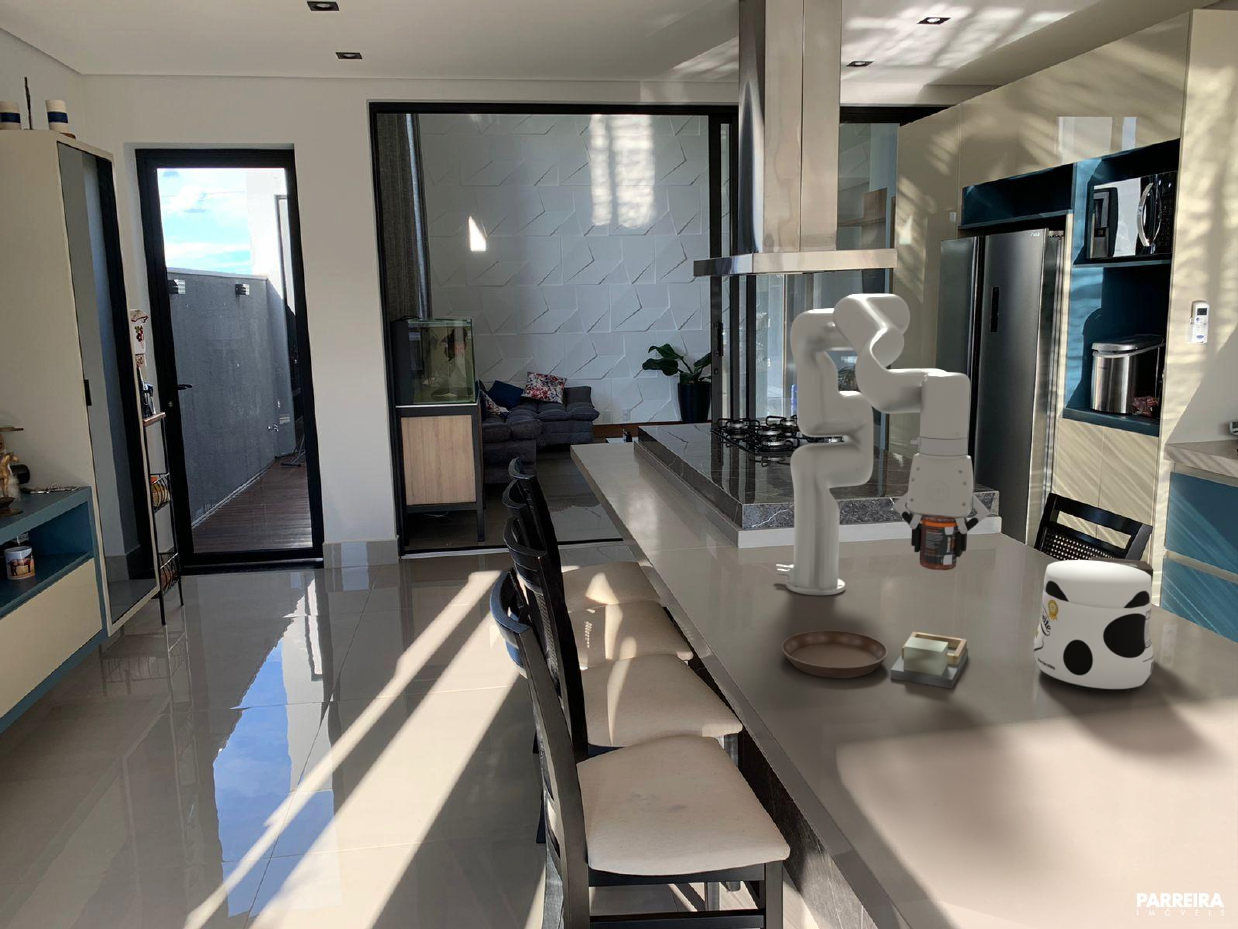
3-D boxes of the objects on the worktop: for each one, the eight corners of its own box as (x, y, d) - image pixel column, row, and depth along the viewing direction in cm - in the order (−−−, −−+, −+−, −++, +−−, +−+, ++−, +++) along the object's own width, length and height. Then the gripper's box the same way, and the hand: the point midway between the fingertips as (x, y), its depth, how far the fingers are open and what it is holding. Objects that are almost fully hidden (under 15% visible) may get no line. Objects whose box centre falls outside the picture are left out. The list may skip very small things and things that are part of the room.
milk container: (1012, 662, 161) (1018, 560, 158) (1109, 658, 162) (1116, 556, 159) (1068, 704, 144) (1076, 590, 141) (1176, 698, 145) (1186, 585, 142)
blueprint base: (890, 678, 154) (891, 646, 154) (911, 647, 168) (912, 617, 167) (951, 688, 150) (953, 655, 149) (967, 656, 164) (969, 625, 163)
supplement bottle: (958, 572, 156) (962, 505, 154) (921, 570, 157) (924, 504, 155) (953, 562, 162) (956, 498, 160) (917, 561, 163) (920, 497, 161)
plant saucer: (805, 688, 152) (805, 670, 151) (766, 650, 169) (767, 634, 168) (906, 678, 155) (907, 660, 154) (858, 642, 172) (859, 626, 172)
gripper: (885, 447, 157) (881, 552, 160) (995, 453, 149) (989, 564, 152) (895, 441, 163) (891, 542, 166) (1001, 447, 155) (995, 553, 158)
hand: (938, 551), depth 159 cm, fingers closed on supplement bottle, 6 cm apart
